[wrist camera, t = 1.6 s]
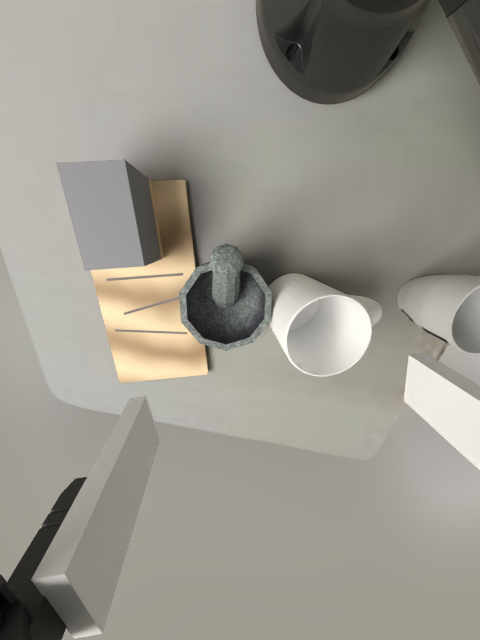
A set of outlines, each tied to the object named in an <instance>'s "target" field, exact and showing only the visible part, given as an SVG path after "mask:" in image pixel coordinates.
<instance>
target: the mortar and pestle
mask: <svg viewBox="0 0 480 640" xmlns="http://www.w3.org/2000/svg"><path fill="white" fill-rule="evenodd" d="M179 301H180V315H181V322H182V324H183V325H184V326H185V327H186V328H187V329H188V331H189V332H190V333H191V334H192V335H193V336H194V338H195V339H196V340H197V341H198V342H199V343H200V344H204V345H207V346H211V347H215V348H218V349H222V350H226V351H227V350H230V349H233V348H237V347H240V346H243V345H246V344H249V343H252V342H254V341H255V339H256V338H257V337H258V336H259V334H260V333H261V332H262V331H263V329H264V328H265V327H266V326H267V324H268V323H269V322H270V321H271V302H272V292H271V290H270V289H269V287H268V286H267V284H266V283H265V281H264V280H263V278H262V277H261V275H260V274H259V273H258V271H257V270H256V268H255V267H254V266H251V265H248V264H245V263H243V254H242V253H241V252H240V251H239V249H238V248H237V247H235V246H231V245H228V244H225V245H222V246H218V247H216V248H215V249H214V251H213V252H212V253H211V255H210V262H208V263H205V264H202V265H199V266H197V267H196V268H195V270H194V271H193V273H192V274H191V276H190V277H189V279H188V280H187V282H186V283H185V285H184V286H183V288H182V289H181V291H180V292H179Z"/></svg>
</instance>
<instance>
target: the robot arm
mask: <svg viewBox="0 0 480 640" xmlns="http://www.w3.org/2000/svg"><path fill="white" fill-rule="evenodd" d="M429 2H430V0H256V15H257V24H258V30H259V35H260V39H261V43H262V46H263V49H264V52H265V54H266V57H267V59H268V61H269V63H270V65H271V67H272V68H273V70H274V72H275V73H276V74H277V76H278V77H279V79H280V80H281V81H282V82H283V83H284V84H285V85H286V86H287V87H288V88H289V89H290V90H291V91H293V92H294V93H295V94H297V95H298V96H300V97H302V98H304V99H306V100H309V101H312V102H315V103H321V104H335V103H341V102H345V101H347V100H350V99H352V98H355V97H357V96H358V95H360V94H362V93H363V92H365V91H366V90H367V89H368V88H370V87H371V86H372V85H373V84H374V83H375V82H376V81H377V80H378V79H379V78H380V77H381V76H382V75H383V74H384V73H385V72H386V71H387V70H388V69H389V68H390V67H391V66H392V65H393V64H394V62H395V61H396V60H397V58H398V57H399V56H400V54H401V53H402V51H403V50H404V48H405V47H406V45H407V43H408V42H409V40H410V38H411V36H412V34H413V32H414V30H415V28H416V27H417V25H418V23H419V21H420V19H421V17H422V15H423V13H424V11H425V9H426V7H427V5H428V4H429ZM439 2H440V4H441V6H442V8H443V10H444V12H445V14H446V18H447V20H448V22H449V24H450V25H451V27H452V29H453V31H454V33H455V35H456V37H457V39H458V41H459V43H460V45H461V47H462V49H463V51H464V53H465V56H466V58H467V60H468V62H469V64H470V66H471V68H472V70H473V72H474V74H475V76H476V78H477V80H478V82H479V84H480V0H439ZM404 401H405V402H406V403H407V404H408V405H409V406H410V407H411V408H412V409H414V410H415V411H416V412H417V413H418V414H419V415H420V416H421V417H422V418H423V419H424V420H425V421H427V422H428V423H429V424H430V425H431V426H432V427H433V428H434V429H435V430H436V431H437V432H438V433H440V434H441V435H442V436H443V437H444V438H445V439H446V440H447V441H448V442H449V443H450V444H452V445H453V446H454V447H455V448H456V449H457V450H458V451H459V452H461V454H462V455H464V456H465V457H466V458H467V459H468V460H469V461H470V462H471V463H472V464H473V465H474V466H476V467H477V468H478V469H479V470H480V386H479V385H477V384H476V383H474V382H472V381H471V380H469V379H467V378H465V377H464V376H462V375H460V374H459V373H457V372H455V371H454V370H452V369H450V368H449V367H447V366H445V365H444V364H442V363H440V362H439V361H437V360H435V359H433V358H432V357H430V356H428V355H427V354H425V353H420V354H413V355H409V359H408V368H407V377H406V385H405V394H404ZM158 443H159V437H158V434H157V430H156V427H155V424H154V421H153V418H152V414H151V411H150V408H149V405H148V402H147V398H146V396H144V397H138V398H131V399H130V400H129V401H128V403H127V405H126V407H125V409H124V411H123V412H122V414H121V416H120V418H119V420H118V422H117V423H116V425H115V427H114V429H113V431H112V433H111V434H110V436H109V438H108V440H107V442H106V444H105V446H104V447H103V449H102V451H101V453H100V455H99V457H98V458H97V460H96V462H95V464H94V466H93V467H92V469H91V471H90V473H89V475H88V477H84V478H77V479H75V480H74V481H73V482H72V483H71V484H70V485H69V486H68V487H67V488H66V489H65V490H64V492H62V493H61V495H60V496H59V498H58V500H57V501H56V503H55V505H54V506H53V508H52V510H51V513H50V514H49V515H48V516H47V518H46V520H45V521H44V523H43V524H42V528H41V529H39V531H38V533H37V534H36V536H35V537H34V539H33V541H32V542H31V544H30V546H29V547H28V549H27V551H26V552H25V554H24V555H23V557H22V559H21V560H20V562H19V564H18V565H17V567H16V569H15V570H14V572H13V573H12V575H11V577H10V578H9V580H8V582H6V580H5V579H4V578H3V576H2V575H0V640H61V639H62V637H63V634H64V632H65V629H67V630H68V631H69V633H70V634H71V635H72V637H73V638H80V637H85V636H92V635H97V634H102V633H103V630H104V626H105V623H106V619H107V616H108V612H109V609H110V606H111V603H112V599H113V596H114V592H115V589H116V586H117V582H118V579H119V576H120V572H121V569H122V565H123V562H124V559H125V555H126V552H127V548H128V545H129V542H130V538H131V535H132V531H133V528H134V525H135V521H136V518H137V515H138V511H139V508H140V504H141V501H142V498H143V494H144V490H145V487H146V484H147V481H148V477H149V474H150V470H151V467H152V464H153V460H154V457H155V453H156V450H157V447H158Z"/></svg>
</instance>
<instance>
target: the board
mask: <svg viewBox="0 0 480 640" xmlns="http://www.w3.org/2000/svg"><path fill="white" fill-rule="evenodd" d="M151 182H152V188H153V194H154V201H155V207H156V213H157V219H158V226H159V232H160V238H161V244H162V250H163V257H164V258H163V259H161V260H158V261H156V262H154V263H151V264H149V265H147V266H143V267H129V268H115V269H101V270H91V273H92V277H93V281H94V285H95V289H96V292H97V296H98V300H99V304H100V308H101V312H102V316H103V320H104V323H105V327H106V331H107V335H108V339H109V343H110V347H111V350H112V354H113V358H114V362H115V366H116V370H117V374H118V377H119V381H120V383H124V382H134V381H144V380H155V379H165V378H175V377H185V376H195V375H205V374H208V363H207V355H206V347H205V345H204V344H200V343H199V342H198V341H197V340H196V339H195V338H194V336H193V335H192V334H191V333H190V332H189V331H188V329H187V328H186V327H185V326H184V325H183V324H182V322H181V315H180V301H179V292H180V291H181V289H182V288H183V286H184V285H185V283H186V282H187V280H188V279H189V277H190V276H191V274H192V273H193V271H194V270H195V268H196V263H195V255H194V247H193V238H192V230H191V222H190V213H189V205H188V197H187V188H186V181H185V180H167V181H151Z"/></svg>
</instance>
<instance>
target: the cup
mask: <svg viewBox="0 0 480 640" xmlns="http://www.w3.org/2000/svg"><path fill="white" fill-rule="evenodd" d="M397 304H398V307H399V308H400V310H401V311H402V312H403V313H404V314H405V315H406V316H407V317H408V318H409V319H410V320H411V321H412V322H413V323H415V324H416V325H418V326H419V327H420V328H422V329H423V330H425V331H426V332H427V333H429V334H430V335H432V336H434V337H435V338H437V339H439V340H441V341H443V342H445V343H446V344H448V345H450V346H452V347H454V348H456V349H458V350H459V351H461V352H463V353H465V354H469V355H480V276H474V275H431V276H426V277H420V278H415V279H412V280H410V281H408V282H407V283H405V284H404V285H403V286H402V288H401V289H400V291H399V293H398V296H397Z"/></svg>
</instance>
